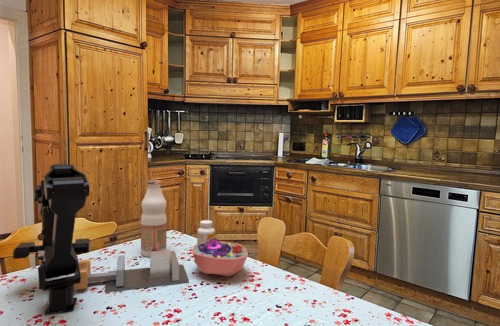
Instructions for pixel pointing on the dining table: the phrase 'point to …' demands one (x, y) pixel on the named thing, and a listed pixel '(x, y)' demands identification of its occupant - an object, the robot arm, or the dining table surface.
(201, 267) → the cell model
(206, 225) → the supplement bottle
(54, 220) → the robot arm
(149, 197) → the fruit juice
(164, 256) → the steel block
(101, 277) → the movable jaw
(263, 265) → the dining table surface
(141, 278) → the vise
